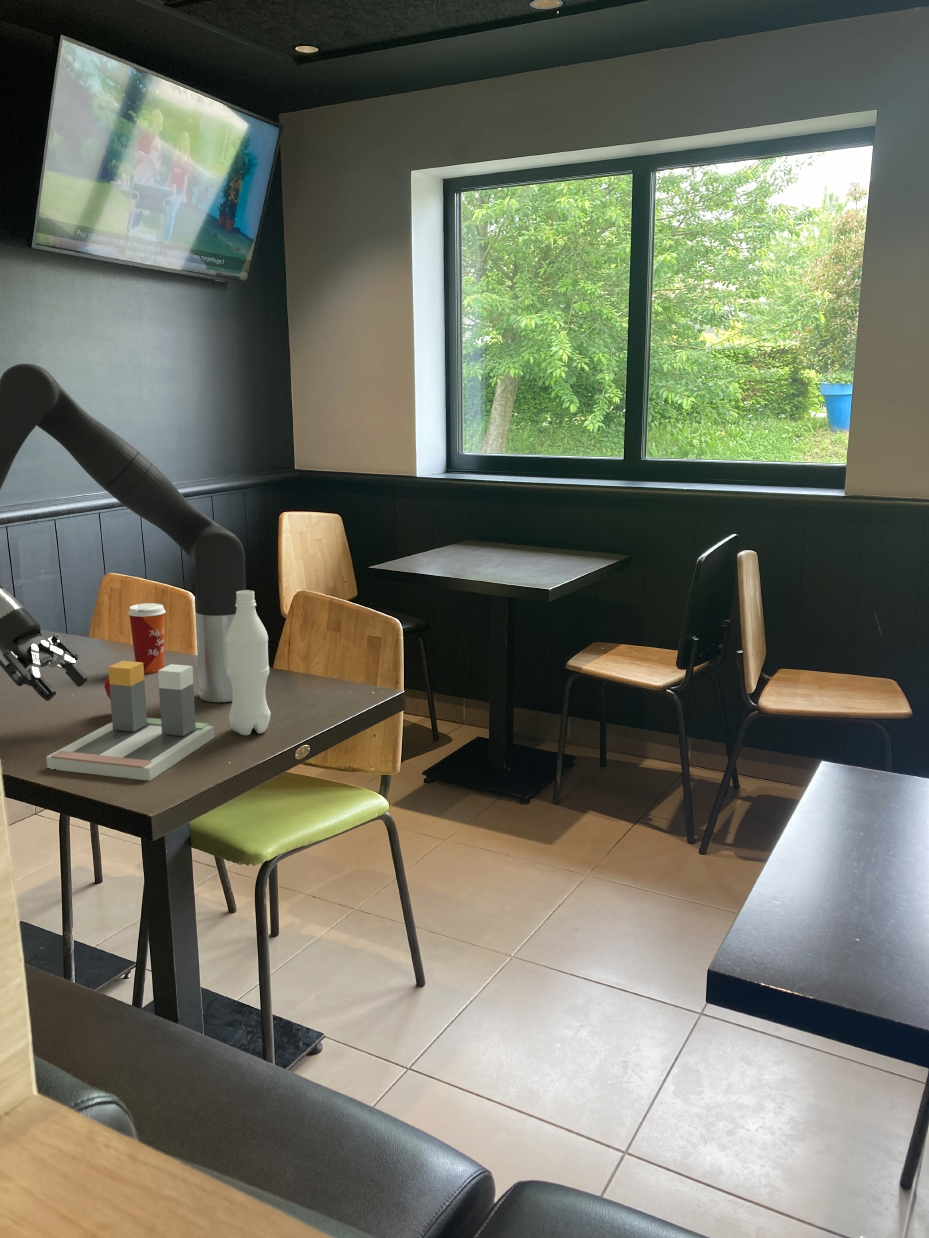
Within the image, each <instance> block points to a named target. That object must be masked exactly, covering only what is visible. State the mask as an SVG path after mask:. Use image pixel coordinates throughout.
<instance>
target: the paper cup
mask: <svg viewBox="0 0 929 1238" xmlns="http://www.w3.org/2000/svg"><path fill="white" fill-rule="evenodd" d="M166 612H167V611H166V609H165V608H164V605H163V604H160V603H151V602H150V603H149V602H147V603H138V604H137V603H136V604H134V605H131V606H129V611H128V612H127V615H128V616H129V623H130V631H131V637H132V647H133V653H134V662H142V663H143V666H144V674H155V673H156V674H157V673H158V670H160V669H162V668H164V667H165V614H166Z"/></svg>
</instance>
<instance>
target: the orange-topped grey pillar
mask: <svg viewBox="0 0 929 1238" xmlns="http://www.w3.org/2000/svg"><path fill="white" fill-rule="evenodd" d="M107 669H108V677H109V684H110V698H111V700H110V710H111V722H112V725H113V730H122V731H131V732H134V731H136V730H138V729H140V728H141V727H143V726H145V725H147V718H148V716H147V715H148V714H147V701H146V700H147V699H146V686H145V685H146V682H145V673H144V666H143V663H142V662H135V661H131V660H130V661H129V660H120V661H118V662H116V663H114V664H112V665H110V666H107ZM110 698H109V699H110Z"/></svg>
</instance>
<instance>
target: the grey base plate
mask: <svg viewBox="0 0 929 1238" xmlns="http://www.w3.org/2000/svg"><path fill="white" fill-rule="evenodd" d="M193 669H194V668H193V665H183V664H171V663H170V664H168V665H166V666H164V668H162V669H160V670H158V672H157V675H158V677H157V678H158V689H159V690H158V692H159V706H160V709H159V710H160V718H156V717H155V718H154V717H147V725H145V726H143V727H141V728H140V729H138V730H136V731H134V732H131V731H122V730H113V725H112V721H111V722H109V723H107V724H105V725H104V726H101V727H100V728H97V729H96V730H94V731H92V732H90V733H88V734H86V735H85V736H82V737H81V738H79V739H77V740H76V741H73V742H72V743H70V744H68V745H66V746H64V747H62V748H60V749H58V750H56V751H54V752H52V753H50V754H49V755H47V756H46V768H50V769H49V770H54V769H56V771H63V772H71V773H81V774H89V775H96V776H97V775H98V776H106V777H113V778H114V777H115V778H122V779H131V780H132V779H133V780H141V781H149V782H151V781H152V780H154V779H155V778H157V777H158V776H160V774H162V773H164V772H165V771H166V770H168V769H169V768H171V767H173V766H174V765H176V764H177V763H179V762H181V761H182V760H183V759H184V758H186V757H187V756H190V754H191V753H193V752H195V751H196V750H198V749H199V748H200V747H203V745H205V744H207V743H208V742H210V741H211V740H213V739H214V738H215V726H213V725H210V724H209V723H205V722H204V723H203V722H196V710H195V709H196V708H195V690H194V689H195V687H194V670H193Z"/></svg>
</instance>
